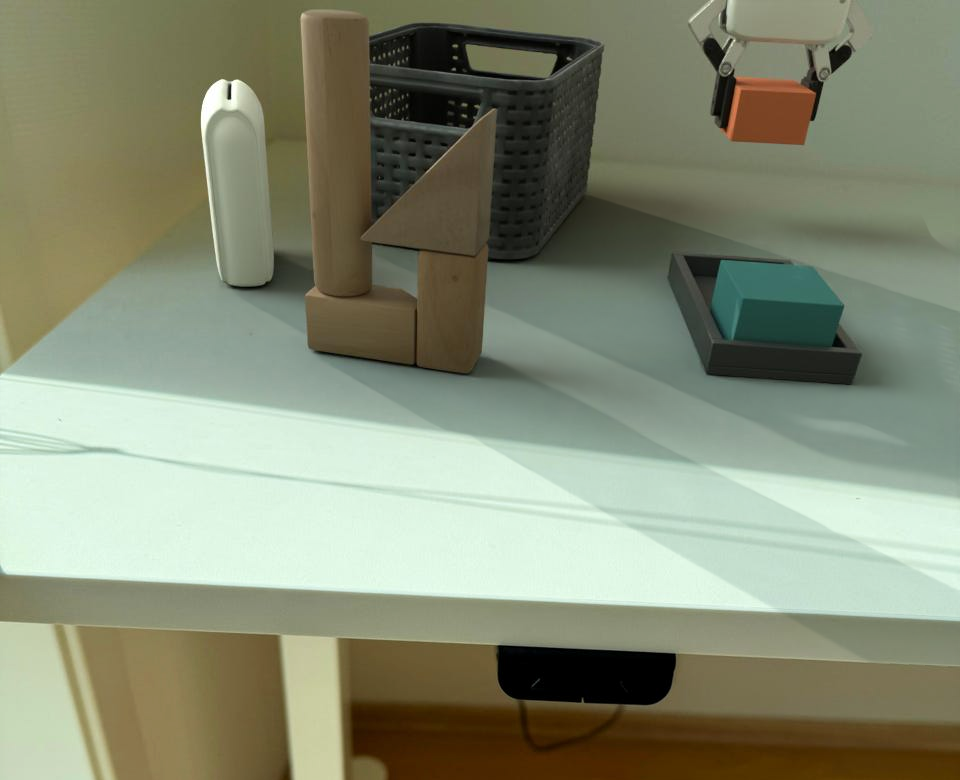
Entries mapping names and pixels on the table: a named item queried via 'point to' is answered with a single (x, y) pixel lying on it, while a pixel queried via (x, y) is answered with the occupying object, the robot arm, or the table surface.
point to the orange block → (769, 111)
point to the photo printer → (238, 183)
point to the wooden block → (389, 219)
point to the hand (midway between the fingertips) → (760, 125)
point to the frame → (747, 358)
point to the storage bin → (519, 124)
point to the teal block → (774, 304)
